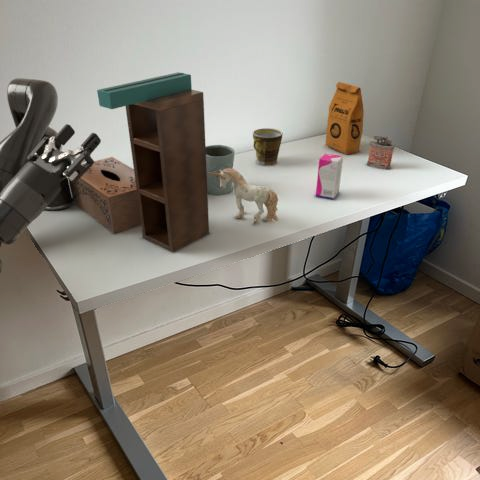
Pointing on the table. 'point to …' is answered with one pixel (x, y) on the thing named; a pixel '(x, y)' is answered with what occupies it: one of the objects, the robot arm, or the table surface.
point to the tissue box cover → (109, 194)
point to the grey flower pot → (218, 167)
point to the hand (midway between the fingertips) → (84, 132)
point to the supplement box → (329, 176)
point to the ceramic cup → (267, 145)
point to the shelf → (170, 168)
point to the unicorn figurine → (249, 194)
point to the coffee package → (345, 119)
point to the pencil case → (143, 90)
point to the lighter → (380, 152)
